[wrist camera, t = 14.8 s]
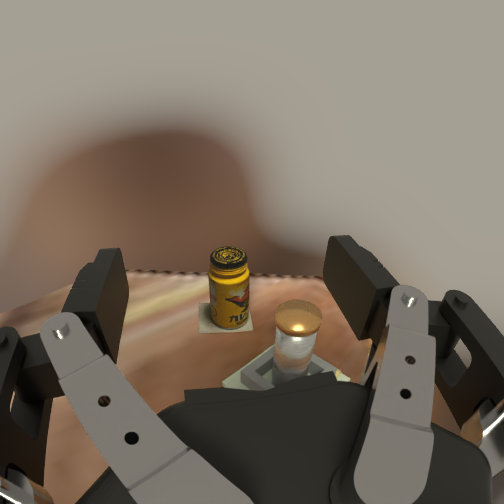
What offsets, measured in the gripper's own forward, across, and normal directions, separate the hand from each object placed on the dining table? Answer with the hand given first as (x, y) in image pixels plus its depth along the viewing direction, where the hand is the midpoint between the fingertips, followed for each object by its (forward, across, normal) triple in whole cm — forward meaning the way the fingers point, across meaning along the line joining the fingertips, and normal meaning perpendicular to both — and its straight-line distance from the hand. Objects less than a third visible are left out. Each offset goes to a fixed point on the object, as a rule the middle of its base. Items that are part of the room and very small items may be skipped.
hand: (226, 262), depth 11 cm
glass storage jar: (+12, -9, +27) cm, 30 cm away
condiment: (+27, -2, +28) cm, 39 cm away
